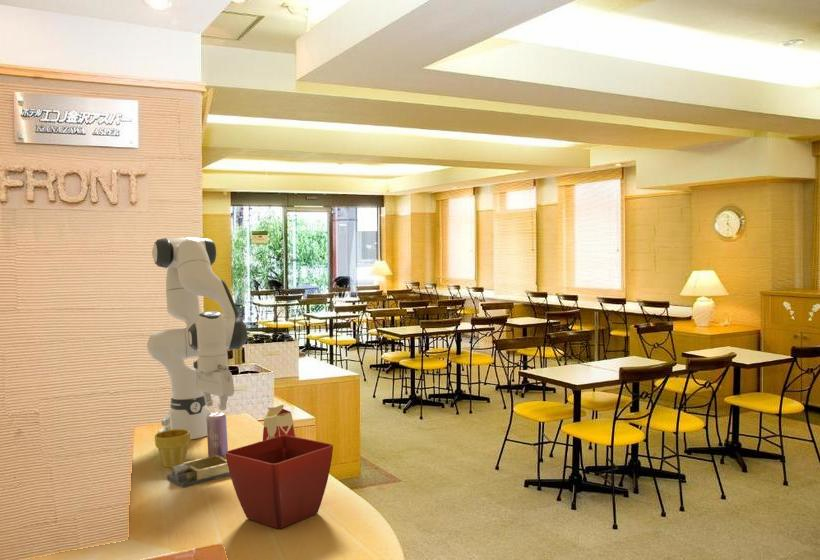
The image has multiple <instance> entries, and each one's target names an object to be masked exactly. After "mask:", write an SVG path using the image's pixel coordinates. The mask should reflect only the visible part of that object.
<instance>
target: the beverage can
mask: <svg viewBox="0 0 820 560" xmlns="http://www.w3.org/2000/svg"><path fill="white" fill-rule="evenodd" d="M206 422H207V437H206V439H207V457H209V456H213V455H219V456H221V457H223V455H224V454H225V452H227V451H229V448H228V447H229V446H228V444H229V443H228V428H227V427H228V426H227V416H226V412H224V411H214V412H210V413H209V414H207V418H206Z"/></svg>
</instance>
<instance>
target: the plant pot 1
mask: <svg viewBox="0 0 820 560" xmlns="http://www.w3.org/2000/svg"><path fill="white" fill-rule="evenodd" d="M154 442H155V443H154V445H155V447H156V448H157V449H158V453H159V456H160V460H161V464H162V466H163V467H164V468H173V466H176V465H181V463H184V462H186V458H187V454H188V453H187V452H188V448H189V444H190V443H191V439H190V431H188V430H185V429H174V430H167V431H163V432H160V433H158V432H157V433H156V434H155V435H154Z"/></svg>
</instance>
